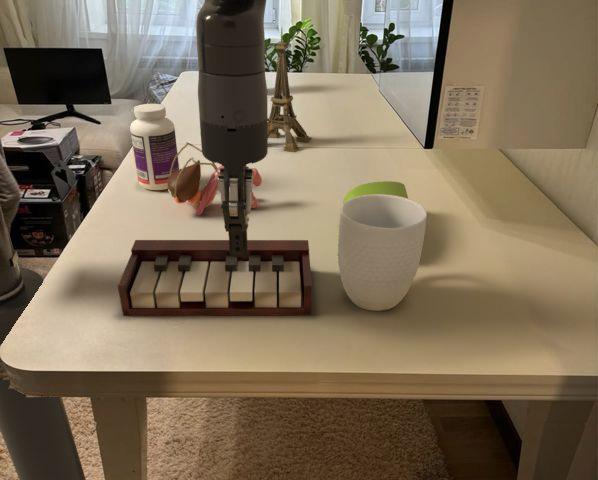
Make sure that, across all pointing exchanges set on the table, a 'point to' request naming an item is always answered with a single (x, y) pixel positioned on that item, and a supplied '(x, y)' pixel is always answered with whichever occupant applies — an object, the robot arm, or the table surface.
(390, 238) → the mug
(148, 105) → the pill bottle
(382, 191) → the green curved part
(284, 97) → the eiffel tower
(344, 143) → the table surface
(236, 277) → the key
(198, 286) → the key
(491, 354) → the table surface
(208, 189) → the anatomy model
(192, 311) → the piano
